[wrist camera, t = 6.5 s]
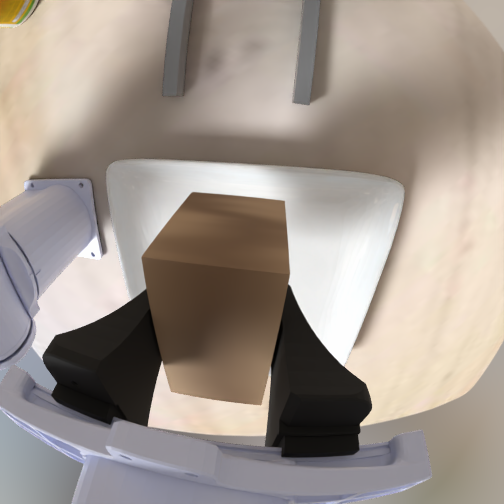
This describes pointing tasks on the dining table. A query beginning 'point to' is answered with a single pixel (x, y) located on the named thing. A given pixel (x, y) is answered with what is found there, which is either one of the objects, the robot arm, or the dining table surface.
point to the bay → (179, 45)
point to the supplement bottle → (15, 12)
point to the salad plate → (298, 228)
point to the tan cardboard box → (219, 294)
